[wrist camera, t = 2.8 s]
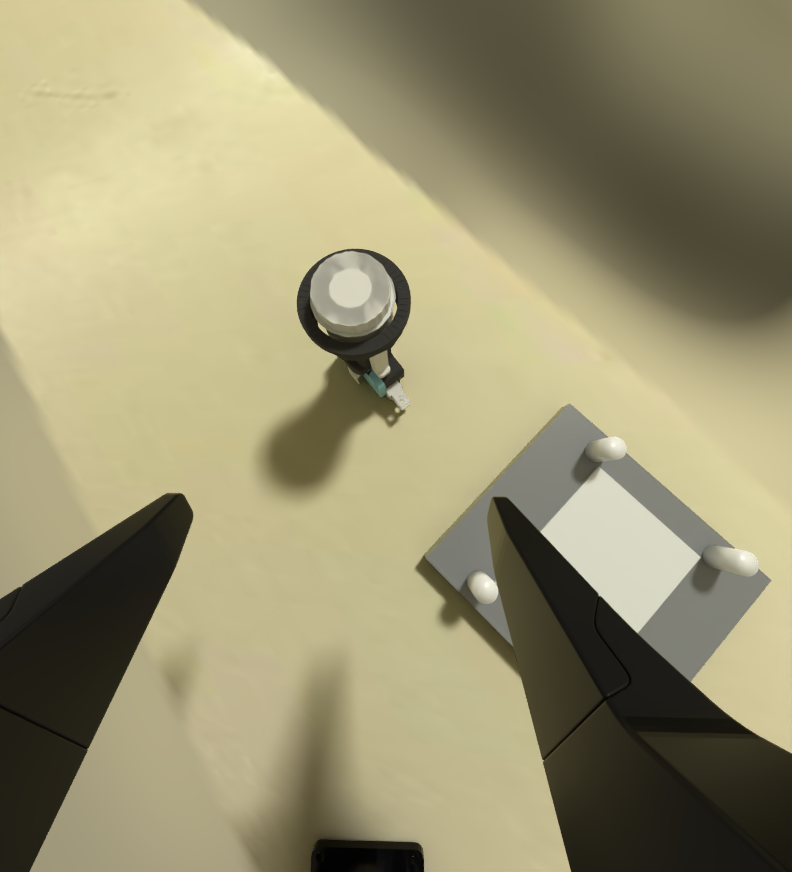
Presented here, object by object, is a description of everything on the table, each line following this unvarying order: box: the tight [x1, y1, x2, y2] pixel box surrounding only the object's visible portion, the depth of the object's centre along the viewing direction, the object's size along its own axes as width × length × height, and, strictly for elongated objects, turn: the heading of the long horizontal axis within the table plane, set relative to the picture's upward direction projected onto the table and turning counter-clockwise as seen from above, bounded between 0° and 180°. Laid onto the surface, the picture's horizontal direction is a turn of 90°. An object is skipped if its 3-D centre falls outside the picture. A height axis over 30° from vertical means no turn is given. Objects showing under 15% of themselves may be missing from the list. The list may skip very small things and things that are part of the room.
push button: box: [297, 249, 411, 410], centre depth 20 cm, size 7×5×10 cm
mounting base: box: [424, 404, 771, 682], centre depth 21 cm, size 14×16×3 cm
